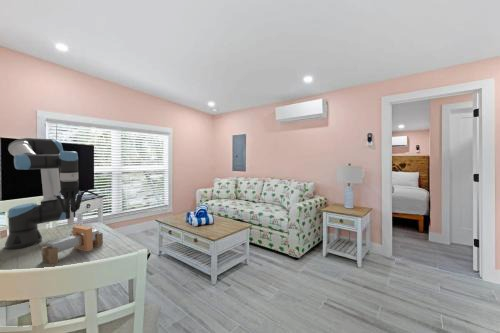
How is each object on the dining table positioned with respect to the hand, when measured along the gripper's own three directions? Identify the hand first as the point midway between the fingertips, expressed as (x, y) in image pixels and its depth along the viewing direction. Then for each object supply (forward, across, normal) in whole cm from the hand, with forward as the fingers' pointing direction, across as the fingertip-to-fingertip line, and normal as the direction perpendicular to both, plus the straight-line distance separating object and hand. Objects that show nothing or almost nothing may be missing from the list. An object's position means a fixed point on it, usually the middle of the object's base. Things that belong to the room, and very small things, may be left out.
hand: (70, 223), depth 115 cm
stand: (+16, +1, -1) cm, 16 cm away
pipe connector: (+17, +12, +15) cm, 25 cm away
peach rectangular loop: (+16, +5, -1) cm, 17 cm away
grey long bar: (+12, +1, -1) cm, 12 cm away
